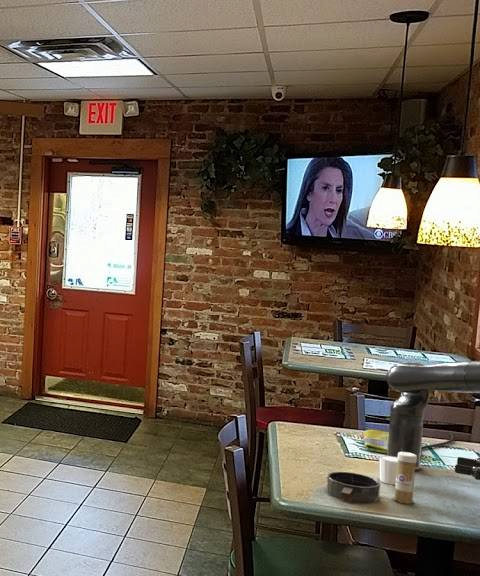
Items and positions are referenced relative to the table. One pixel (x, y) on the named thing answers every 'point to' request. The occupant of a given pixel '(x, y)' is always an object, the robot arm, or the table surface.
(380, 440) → the dish towel
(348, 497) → the pan handle
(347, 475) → the pan
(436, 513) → the table surface
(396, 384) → the robot arm
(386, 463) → the white cup
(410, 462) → the sprinkles bottle
